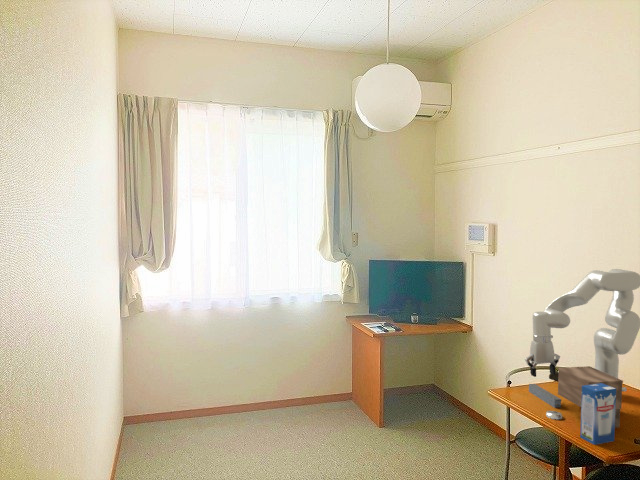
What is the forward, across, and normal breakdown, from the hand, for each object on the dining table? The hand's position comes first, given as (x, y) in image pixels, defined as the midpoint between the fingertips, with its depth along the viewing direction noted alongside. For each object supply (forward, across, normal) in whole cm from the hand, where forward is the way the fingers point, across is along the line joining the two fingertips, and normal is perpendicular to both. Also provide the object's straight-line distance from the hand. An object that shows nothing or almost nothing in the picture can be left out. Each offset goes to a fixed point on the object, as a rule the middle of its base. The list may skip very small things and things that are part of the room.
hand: (543, 374), depth 224 cm
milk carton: (+10, +7, +43) cm, 45 cm away
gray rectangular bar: (+10, +2, +3) cm, 11 cm away
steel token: (+10, +10, +22) cm, 26 cm away
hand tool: (+12, -25, -16) cm, 32 cm away
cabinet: (+11, -2, +26) cm, 28 cm away
